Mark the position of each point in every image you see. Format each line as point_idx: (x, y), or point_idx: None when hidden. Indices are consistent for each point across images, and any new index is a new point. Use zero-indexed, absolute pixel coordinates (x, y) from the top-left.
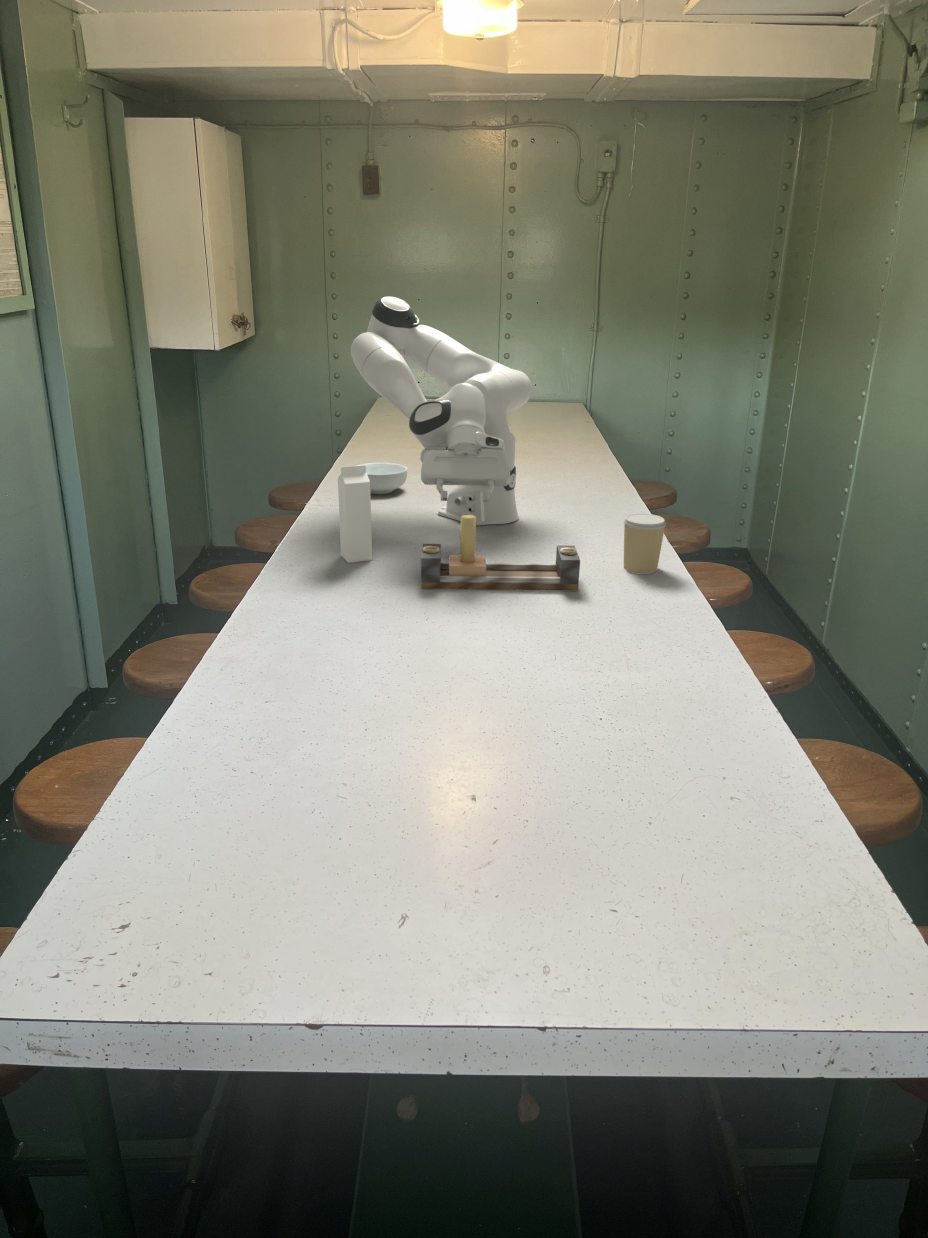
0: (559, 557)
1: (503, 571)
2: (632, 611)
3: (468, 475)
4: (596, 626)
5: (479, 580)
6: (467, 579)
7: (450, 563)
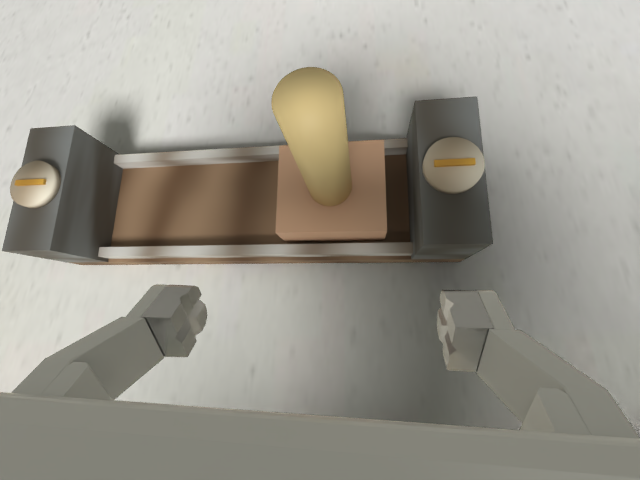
0: (74, 173)
1: (239, 232)
2: (38, 78)
3: (229, 433)
4: (117, 11)
5: None
6: None
7: (381, 159)
